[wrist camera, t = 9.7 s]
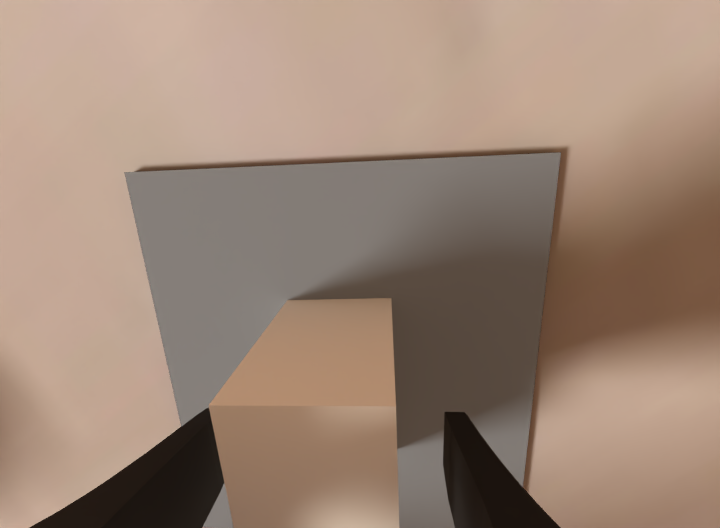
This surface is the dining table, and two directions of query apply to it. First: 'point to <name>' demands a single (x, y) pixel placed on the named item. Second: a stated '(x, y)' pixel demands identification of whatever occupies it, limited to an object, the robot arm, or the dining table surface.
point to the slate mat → (364, 286)
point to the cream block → (313, 420)
